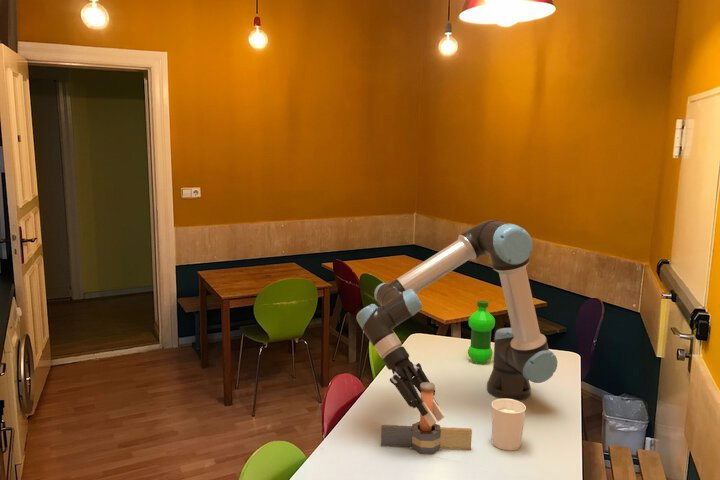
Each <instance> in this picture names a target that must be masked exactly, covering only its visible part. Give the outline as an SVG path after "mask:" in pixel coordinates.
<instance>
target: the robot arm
mask: <svg viewBox="0 0 720 480" xmlns="http://www.w3.org/2000/svg"><path fill="white" fill-rule="evenodd" d="M532 251H533V240H532V237H531V235H530V234H529V233H528V231H527V230H526V229H525V228H523V227H521V226H520V225H518V224H514V223H508V222H503V221H501V220H496V219H489V220H485V221H482V222H480V223H477V225H474V226H472V227H470V228H469V229H467V230H466V231H464V232H463V233H461V234H459V235H458V237H457V239H456V240H455V241H454V242H453V243H452V242H451V244H449V245H447V246H446V247H445V248H443V249H441V250H440V251H438V252H437V253H435V254H434V255H432V256H430V257H429V258H427V259H426V260H424V261H422V262H421V263H419V264H417V265H416V266H414V267H412V268H411V269H410V270H409V271H407V272H405V273H403V274H401V275H400V276H399V277H397V278H395V279H394V280H392V281H391V282H382V283H380V284H378V285H377V286H376V287H375V288H374V292H373V295H374V299H375V301H376V302H377V304H378V305H379V306H378V305H376V304H375V303H371V304H369V305H367V306H365V307H363V308H362V309H360V310H359V311H358V312H357V314H356V321H357V323H358V325H359V327H360V328H361V330H362V331H363V333H364V335H365V336H366V337H367V339H368V340H369V342H370V344H371V345H372V347H373V348H374V349H375V350H376V352H377V354H378V355H379V357H380V359H381V358H382V362H383V363H384V365H385V367H386V368H387V370H389V371H390V370H391V372H392V377H390V378H389V382H390V383H391V384H392V385H394V387H395V388H396V389H397V391H398V392H399V393H400V395H401V396H402V398H403V399H404V401H405V402H406V404H407V405H408V406H409V407H410V408H413V409H417V410H418V412H419V413H421V415H422V416H424V418H425V420H426V421H427V423H428V424H429V426H430V427H431V426H432V425H434V424H437V423H438V422H439V421H441V420H442V419H444V418H445V417H446V415H445V414H444V412H443V410H442V409H441V408H440V406H439V403H438V402H437V401H436V399H435V397H434V396H435V395H436V389H435V390H433V413H432V412H431V411H430V409H429V408H428V406H427V405H426V403H425V402H423V403H422V400H421V396H420V395H419V393H420V394H421V389H420V384H421V383H423V382H430V380H429V377H427V375H426V374H425V372H424V370H423V368H422V365H421V363H419V362H417V363H416V364H414V363H413V362H412V361H411V359H409V358H410V354H409V352H408V350H406V348H405V347H404V346H402V344H403V343H402V341H401V340H400V339H399V338H398V336H397V334H396V333H395V331H394V330H393V329H394V328H395V327H397V326H399V325H400V324H402V323H403V322H405V321H406V320H409V319H410V318H412V317H414V316H415V315H416V314H417V313H419V312H420V311H422V309H423V303H422V301H421V300H420V298H419V296H418V295H417V294H418V293H419V292H421V291H423V290H424V289H426V288H427V287H429V286H430V285H431V284H433V283H435V282H436V281H439V279H441V278H443V277H444V276H446V275H447V274H449V273H451V272H452V271H454V270H455V269H457V268H458V267H460V266H461V265H463V264H466V262H467V261H470V260H473V261H475V260H477V259H478V258H480V257H483V256H487V255H488V256H489V259H490V261H491V262H490V263H491V266H492V270H493V271H495V272H497V273H498V275H499V279H500V283H501V288H502V292H503V296H504V297H503V298H504V301H505V302H504V303H505V305H506V310H507V313H508V318H509V323H510V327H503V328H501V327H500V328H498V329H497V330H496V331H495V332H494V333H495V334H494V343H493V344H494V345H493V348H494V349H493V363H492V364H493V365H492V367H493V368H492V371H491V373H490V376H489V377H488V381H487V383H486V384H487V386H486V391H487V392H488V393H489V394H491V395H492V396H494V397H496V398H498V399H503V398H505V399H513V400H517V401H519V400H525V399H527V398H529V397H530V396H531V393H532V392H531V389H532V388H531V385H530V382H532V383H536V384H541V383H544V382H547V381H548V380H550V378H552V377H553V375H554V373H556V371H557V369H558V358H557V356H556V355H555V353H554V352H553V351H552V350H550V349H549V345H548V340H547V337H546V336H545V334H542V333H541V331H540V327H539V321H538V318H537V312H536V308H535V304H534V300H533V294H532V290H531V286H530V281H529V276H528V272H527V266H528V265H529V264H530V256H531V253H532ZM418 392H419V393H418Z"/></svg>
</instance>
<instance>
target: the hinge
mask: <svg viewBox="0 0 720 480" xmlns="http://www.w3.org/2000/svg"><path fill="white" fill-rule="evenodd" d="M380 427H381V430H380V431H381V432H380V435H381V437H380V447H393V448H395V447H397V448H411V450H413V451H414V452H417V453H418V454H419V455H434V454H435V453H438V452H440V451H441V449H444V450H461V451H462V450H464V451H466V450H468V451H471V450H472V435H473V434H472V433H473V429H472V428H467V427H444V426H443V427H441V425H440V424H437V423H435V424H434V425H432V432H423V431H421V430H420V420H419V421H417V422H414V423H412V424H411V425H398V424H397V425H395V424H394V425H393V424H381V426H380Z"/></svg>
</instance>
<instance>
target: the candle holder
mask: <svg viewBox="0 0 720 480" xmlns="http://www.w3.org/2000/svg"><path fill="white" fill-rule="evenodd" d="M526 410H527V407H526V404H524V403H523V402H522V401H519V400H513V399H505V398H497V399H494V400H493V401H492V402H491V443H492V445H493V446H494V447H496V448H497V449H499V450H503V451H516V450H518V449H520V448H521V446H522V441H523V440H522V439H523V434H524V433H523V432H524V426H525V425H524V423H525V419H526V418H525V416H526Z"/></svg>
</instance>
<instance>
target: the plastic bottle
mask: <svg viewBox="0 0 720 480" xmlns="http://www.w3.org/2000/svg"><path fill="white" fill-rule="evenodd" d="M476 306H477V308H478V309H477V310H476V311H474V312H473V313H472V314H471V315H470V316H469V318H468V322H467V323H468V326H469V328H470V329H471V332H470V346H469V347H468V349H467V355H468V357H469V358H470V359H471V360H472V361H473V363H475V364H479V365H482V364H486V363H487V362H488V361H489V360H491V358H492V356H493V355H494V350H493V348H492V347H491V342H492V330H493V329H494V328H495V326H496V319H495V317H494V316H493V315H492V314H491V313H490V312H489V311H488V308H489V302H488V301H487V300H477V302H476Z"/></svg>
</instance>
